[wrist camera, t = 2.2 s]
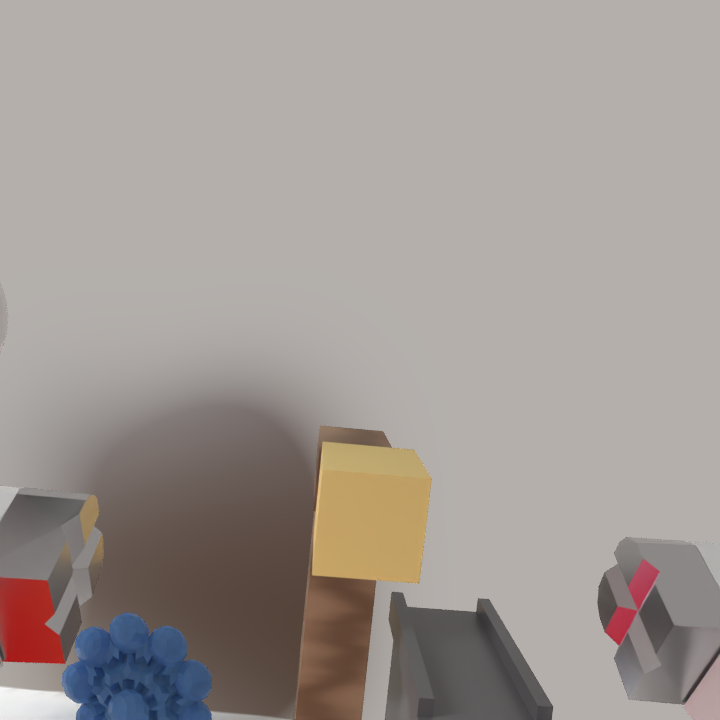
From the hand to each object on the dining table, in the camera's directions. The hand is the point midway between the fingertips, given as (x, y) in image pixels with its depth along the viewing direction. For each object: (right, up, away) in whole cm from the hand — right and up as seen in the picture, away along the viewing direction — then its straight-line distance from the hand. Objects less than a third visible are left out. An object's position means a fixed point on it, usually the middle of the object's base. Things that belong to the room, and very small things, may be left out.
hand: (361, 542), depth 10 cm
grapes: (-18, -29, +40) cm, 52 cm away
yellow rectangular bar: (0, -5, +25) cm, 26 cm away
